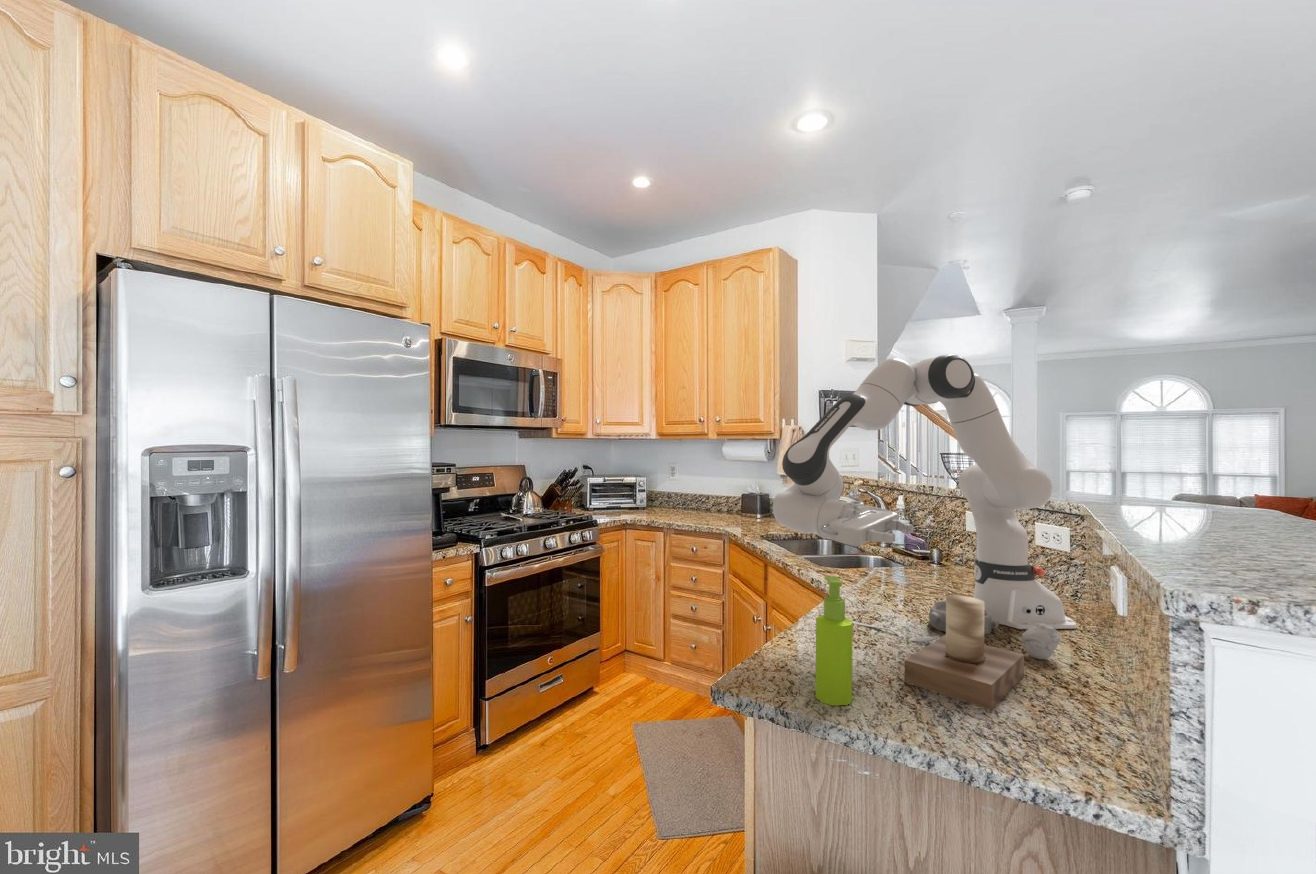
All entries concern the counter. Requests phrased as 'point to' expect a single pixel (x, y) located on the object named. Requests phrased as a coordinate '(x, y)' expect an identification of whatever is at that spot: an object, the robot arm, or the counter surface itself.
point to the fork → (897, 633)
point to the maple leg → (965, 629)
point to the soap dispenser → (834, 649)
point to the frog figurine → (1041, 641)
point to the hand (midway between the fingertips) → (903, 534)
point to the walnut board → (965, 674)
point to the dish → (939, 618)
